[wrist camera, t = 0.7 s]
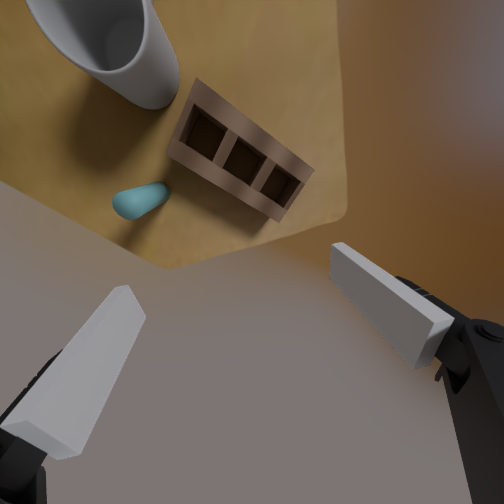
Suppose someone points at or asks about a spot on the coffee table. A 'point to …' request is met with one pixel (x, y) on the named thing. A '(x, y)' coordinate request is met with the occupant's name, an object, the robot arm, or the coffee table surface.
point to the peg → (140, 200)
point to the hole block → (235, 129)
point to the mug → (114, 45)
